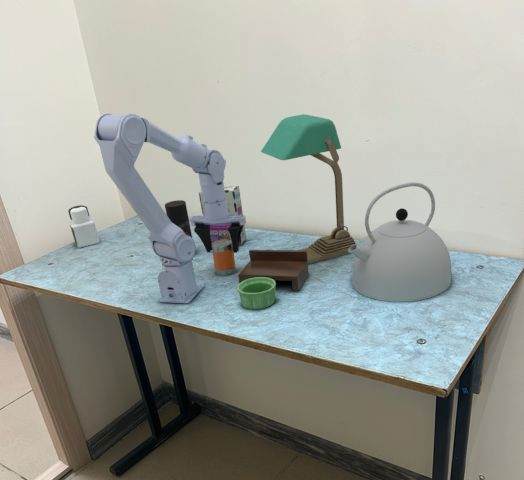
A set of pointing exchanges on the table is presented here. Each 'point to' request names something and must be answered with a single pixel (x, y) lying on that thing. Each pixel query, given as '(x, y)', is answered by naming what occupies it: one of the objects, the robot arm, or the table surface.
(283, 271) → the shelf
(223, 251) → the tin can
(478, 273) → the table surface
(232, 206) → the candy bar box
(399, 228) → the kettle
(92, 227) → the white handled box
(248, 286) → the ramekin
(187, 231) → the deodorant
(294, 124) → the banker's lamp
